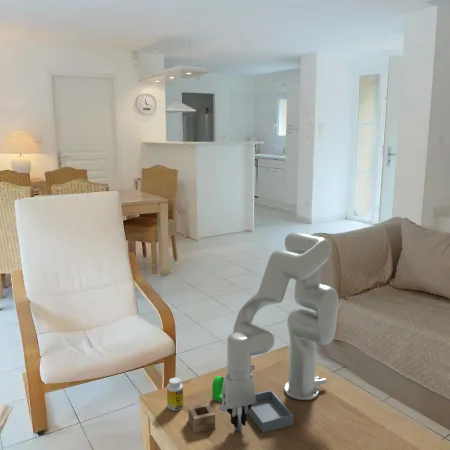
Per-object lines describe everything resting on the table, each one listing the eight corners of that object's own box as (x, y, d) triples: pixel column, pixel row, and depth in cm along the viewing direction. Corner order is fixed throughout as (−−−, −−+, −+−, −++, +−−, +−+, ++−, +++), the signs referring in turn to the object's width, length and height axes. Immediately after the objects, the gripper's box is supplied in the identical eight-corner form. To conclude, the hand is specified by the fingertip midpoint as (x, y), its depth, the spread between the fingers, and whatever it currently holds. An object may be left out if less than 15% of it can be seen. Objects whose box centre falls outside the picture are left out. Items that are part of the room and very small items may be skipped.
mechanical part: (227, 404, 164) (227, 384, 162) (212, 400, 166) (212, 379, 165) (241, 388, 174) (242, 368, 173) (227, 384, 177) (227, 365, 175)
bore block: (208, 416, 156) (208, 403, 155) (215, 428, 150) (215, 414, 149) (188, 420, 154) (188, 407, 153) (194, 433, 148) (194, 419, 147)
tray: (271, 399, 166) (271, 390, 166) (293, 425, 152) (293, 415, 151) (242, 405, 163) (242, 396, 162) (262, 432, 148) (262, 422, 147)
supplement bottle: (176, 413, 158) (175, 386, 156) (164, 408, 161) (163, 381, 159) (186, 405, 163) (186, 379, 161) (174, 400, 166) (173, 374, 164)
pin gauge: (240, 427, 151) (240, 399, 149) (243, 431, 148) (243, 403, 147) (233, 428, 150) (233, 400, 148) (236, 433, 148) (236, 404, 146)
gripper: (257, 362, 151) (256, 412, 155) (211, 370, 146) (211, 422, 149) (267, 372, 145) (266, 425, 148) (219, 382, 139) (219, 436, 142)
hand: (238, 423), depth 149 cm, fingers closed on pin gauge, 2 cm apart
